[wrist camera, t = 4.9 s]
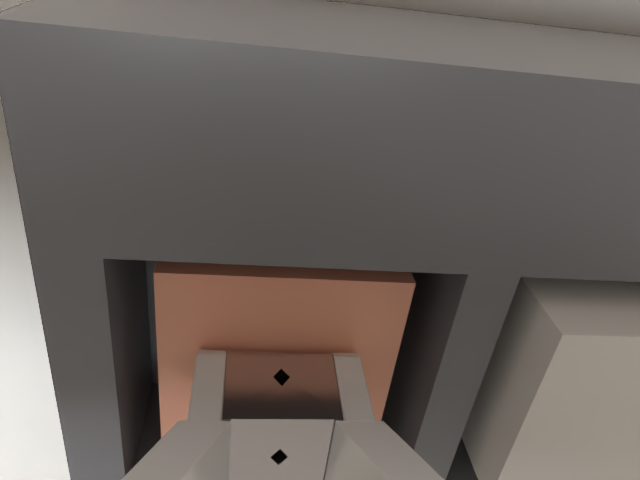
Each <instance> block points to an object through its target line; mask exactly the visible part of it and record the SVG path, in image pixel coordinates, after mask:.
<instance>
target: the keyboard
mask: <svg viewBox="0 0 640 480" xmlns="http://www.w3.org/2000/svg"><path fill="white" fill-rule="evenodd" d="M0 94H1V100H2V105H3V111H4V116H5V122H6V127H7V133H8V138H9V144H10V149H11V155H12V160H13V166H14V171H15V177H16V182H17V188H18V193H19V198H20V204H21V209H22V215H23V220H24V226H25V231H26V237H27V242H28V248H29V253H30V259H31V264H32V270H33V275H34V281H35V286H36V292H37V297H38V303H39V308H40V314H41V319H42V324H43V330H44V335H45V341H46V346H47V352H48V357H49V363H50V368H51V374H52V379H53V385H54V390H55V396H56V401H57V407H58V412H59V418H60V423H61V429H62V434H63V439H64V445H65V450H66V456H67V461H68V467H69V472H70V478H71V480H121V479H122V478H123V477H124V476H125V475H126V474H127V473H128V472H129V471H130V470H131V469H132V468H133V467H134V466H135V465H136V464H137V463H138V462H139V461H140V460H141V459H142V458H143V457H144V456H145V455H146V454H147V453H148V452H149V451H150V450H151V449H152V448H153V447H154V446H155V444H156V443H157V442H158V441H159V440H160V439H161V424H160V403H159V381H158V360H157V338H156V317H155V295H154V274H153V272H154V269H155V266H156V262H157V261H169V262H191V263H214V264H237V265H260V266H282V267H305V268H328V269H351V270H374V271H396V272H411V273H412V275H413V278H414V280H415V283H416V285H415V289H414V293H413V297H412V301H411V305H410V309H409V312H408V316H407V320H406V324H405V328H404V332H403V336H402V340H401V344H400V348H399V352H398V356H397V360H396V364H395V368H394V372H393V376H392V380H391V384H390V388H389V392H388V396H387V399H386V403H385V407H384V411H383V415H382V419H381V421H384V422H385V423H386V424H387V425H388V426H389V427H390V428H391V429H392V430H393V431H394V432H395V433H396V434H397V435H398V436H399V437H401V438H402V439H403V440H404V441H405V442H406V443H407V444H408V445H409V446H410V447H411V448H412V449H413V450H414V451H415V452H416V453H417V454H418V455H419V456H420V457H421V458H422V459H423V460H424V461H425V462H426V463H428V464H429V465H430V466H431V467H432V468H433V469H434V470H435V471H436V472H437V473H438V474H439V475H440V476H441V477H442V478H443V479H444V480H478V478H477V476H476V473H475V471H474V468H473V465H472V463H471V460H470V458H469V455H468V452H467V450H466V447H465V445H464V442H463V440H462V434H463V432H464V429H465V426H466V423H467V421H468V418H469V415H470V413H471V410H472V407H473V405H474V402H475V399H476V396H477V394H478V391H479V388H480V386H481V383H482V380H483V378H484V375H485V372H486V369H487V367H488V364H489V361H490V359H491V356H492V353H493V350H494V348H495V345H496V342H497V340H498V337H499V334H500V332H501V329H502V326H503V323H504V321H505V318H506V315H507V313H508V310H509V307H510V305H511V302H512V299H513V296H514V294H515V291H516V288H517V286H518V283H519V280H520V278H521V277H533V278H556V279H579V280H601V281H624V282H640V37H639V36H631V35H622V34H613V33H605V32H596V31H587V30H579V29H570V28H561V27H553V26H544V25H535V24H527V23H518V22H509V21H500V20H492V19H483V18H474V17H466V16H457V15H448V14H440V13H431V12H422V11H414V10H405V9H396V8H388V7H379V6H370V5H362V4H353V3H344V2H336V1H327V0H30V1H28V2H25V3H23V4H20V5H18V6H15V7H13V8H10V9H7V10H5V11H2V12H0Z"/></svg>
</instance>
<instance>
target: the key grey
mask: <svg viewBox="0 0 640 480" xmlns="http://www.w3.org/2000/svg"><path fill="white" fill-rule="evenodd" d="M462 440H463V442H464V445H465V447H466V450H467V452H468V455H469V458H470V460H471V463H472V465H473V468H474V471H475V473H476V476H477V478H478V480H640V282H624V281H601V280H579V279H556V278H533V277H521V278H520V280H519V283H518V286H517V288H516V291H515V294H514V296H513V299H512V302H511V305H510V307H509V310H508V313H507V315H506V318H505V321H504V323H503V326H502V329H501V332H500V334H499V337H498V340H497V342H496V345H495V348H494V350H493V353H492V356H491V359H490V361H489V364H488V367H487V369H486V372H485V375H484V378H483V380H482V383H481V386H480V388H479V391H478V394H477V396H476V399H475V402H474V405H473V407H472V410H471V413H470V415H469V418H468V421H467V423H466V426H465V429H464V432H463V434H462Z"/></svg>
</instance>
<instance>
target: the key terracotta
mask: <svg viewBox="0 0 640 480" xmlns="http://www.w3.org/2000/svg"><path fill="white" fill-rule="evenodd" d="M153 274H154V295H155V317H156V338H157V360H158V381H159V403H160V424H161V438H162V437H163V436H164V435H165V434H166V433H167V432H168V431H169V430H170V429H171V428H172V427H173V426H174V425H175V424H176V423H177V422H178V421H184V420H188V413H189V405H190V398H191V391H192V384H193V377H194V370H195V362H196V356H197V353H198V350H199V349H200V350H221V351H226V359H227V350H235V351H257V352H295V353H330V354H331V353H358V354H359V356H360V357H361V362H362V366H363V370H364V374H365V379H366V383H367V387H368V391H369V396H370V400H371V404H372V408H373V412H374V417H375V421H381V419H382V415H383V411H384V407H385V403H386V399H387V396H388V392H389V388H390V384H391V380H392V376H393V372H394V368H395V364H396V360H397V356H398V352H399V348H400V344H401V340H402V336H403V332H404V328H405V324H406V320H407V316H408V312H409V309H410V305H411V301H412V297H413V293H414V289H415V285H416V283H415V280H414V278H413V275H412V273H411V272H396V271H374V270H351V269H328V268H305V267H282V266H260V265H237V264H214V263H191V262H169V261H157V262H156V266H155V269H154V272H153Z"/></svg>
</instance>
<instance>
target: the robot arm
mask: <svg viewBox="0 0 640 480" xmlns="http://www.w3.org/2000/svg"><path fill="white" fill-rule="evenodd" d="M121 480H444V479H443V478H442V477H441V476H440V475H439V474H438V473H437V472H436V471H435V470H434V469H433V468H432V467H431V466H430V465H429V464H428V463H426V462H425V461H424V460H423V459H422V458H421V457H420V456H419V455H418V454H417V453H416V452H415V451H414V450H413V449H412V448H411V447H410V446H409V445H408V444H407V443H406V442H405V441H404V440H403V439H402V438H401V437H399V436H398V435H397V434H396V433H395V432H394V431H393V430H392V429H391V428H390V427H389V426H388V425H387V424H386V423H385V422H384V421H375V417H374V412H373V408H372V404H371V400H370V396H369V391H368V387H367V383H366V379H365V374H364V370H363V366H362V362H361V357H360V356H359V354H358V353H331V354H330V353H295V352H257V351H235V350H227V359H226V351H221V350H200V349H199V350H198V353H197V356H196V362H195V370H194V377H193V384H192V391H191V398H190V405H189V413H188V420H184V421H178V422H177V423H176V424H175V425H174V426H173V427H172V428H171V429H170V430H169V431H168V432H167V433H166V434H165V435H164V436H163V437H162V438H161V439H160V440H159V441H158V442H157V443H156V444H155V446H154V447H153V448H152V449H151V450H150V451H149V452H148V453H147V454H146V455H145V456H144V457H143V458H142V459H141V460H140V461H139V462H138V463H137V464H136V465H135V466H134V467H133V468H132V469H131V470H130V471H129V472H128V473H127V474H126V475H125V476H124V477H123V478H122V479H121Z"/></svg>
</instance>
